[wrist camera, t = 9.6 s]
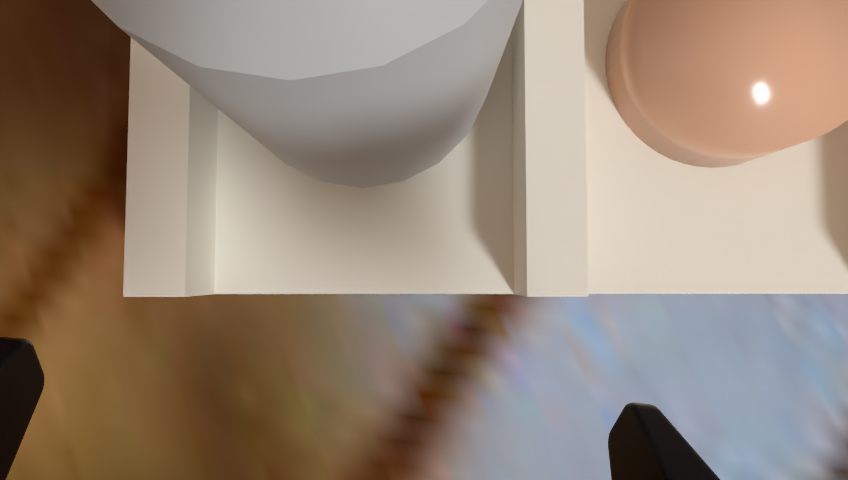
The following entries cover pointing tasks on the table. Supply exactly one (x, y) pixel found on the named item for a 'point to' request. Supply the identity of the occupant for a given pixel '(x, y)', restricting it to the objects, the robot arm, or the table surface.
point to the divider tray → (480, 197)
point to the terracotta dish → (728, 75)
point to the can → (334, 74)
